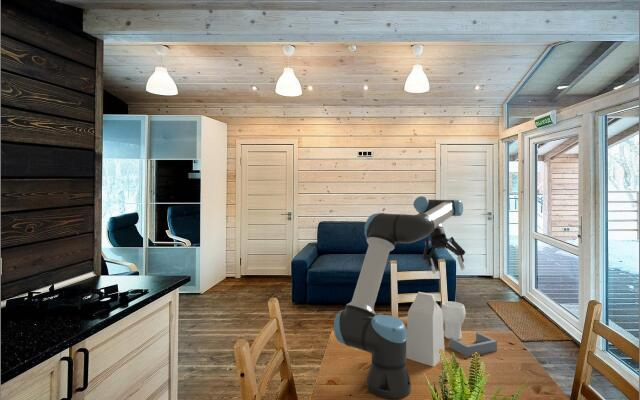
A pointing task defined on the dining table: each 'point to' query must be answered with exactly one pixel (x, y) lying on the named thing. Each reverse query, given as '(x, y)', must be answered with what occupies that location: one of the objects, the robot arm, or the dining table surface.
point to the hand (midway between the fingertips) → (448, 270)
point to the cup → (453, 319)
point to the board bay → (474, 345)
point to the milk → (424, 330)
